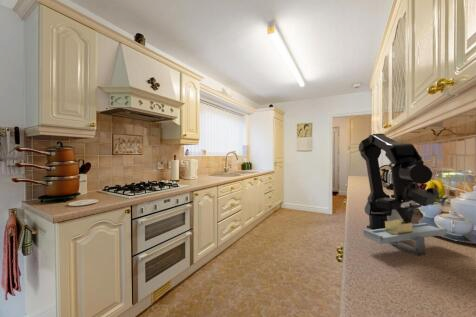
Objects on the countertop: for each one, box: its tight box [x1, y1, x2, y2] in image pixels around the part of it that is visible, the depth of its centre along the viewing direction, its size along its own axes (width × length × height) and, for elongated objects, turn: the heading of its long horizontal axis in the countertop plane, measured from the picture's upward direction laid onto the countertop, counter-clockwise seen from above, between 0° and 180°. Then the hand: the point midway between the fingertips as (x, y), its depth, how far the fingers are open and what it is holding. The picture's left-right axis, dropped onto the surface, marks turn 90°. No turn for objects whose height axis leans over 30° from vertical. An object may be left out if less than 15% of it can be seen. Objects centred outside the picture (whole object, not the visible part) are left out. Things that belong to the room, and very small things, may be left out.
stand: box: [389, 236, 426, 257], centre depth 70 cm, size 11×2×6 cm, turn 10°
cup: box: [387, 209, 403, 221], centre depth 97 cm, size 7×10×9 cm
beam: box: [363, 222, 448, 245], centre depth 70 cm, size 8×26×3 cm, turn 100°
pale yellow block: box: [385, 219, 413, 235], centre depth 69 cm, size 4×6×4 cm
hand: (407, 225), depth 70 cm, fingers closed
